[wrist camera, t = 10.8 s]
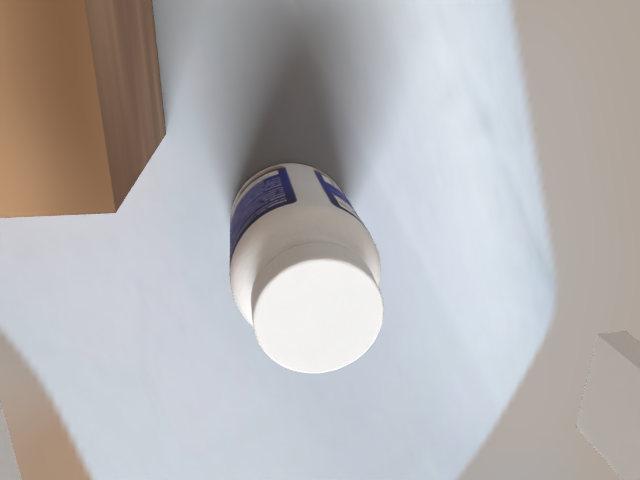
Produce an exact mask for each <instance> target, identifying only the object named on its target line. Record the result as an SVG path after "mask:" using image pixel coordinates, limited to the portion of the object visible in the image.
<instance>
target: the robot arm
mask: <svg viewBox="0 0 640 480" xmlns="http://www.w3.org/2000/svg"><path fill="white" fill-rule="evenodd" d="M576 427H577V428H578V429H579V431H580V432H581V433H582V434H583V435H584V437H585V438H586V439H587V440H588V441H589V442H590V443H591V445H592V446H593V447H594V448H595V449H596V450H597V451H598V453H599V454H600V455H601V456H602V457H603V458H604V459H605V461H606V462H607V463H608V464H609V465H610V466H611V467H612V469H613V470H614V471H615V472H616V473H617V474H618V476H619V477H620V478H621V479H622V480H640V341H638V340H637V339H636V338H634V337H633V336H632V335H630V334H629V333H628V332H627V331H621V332H612V333H601V334H597V336H596V341H595V345H594V349H593V354H592V358H591V362H590V367H589V371H588V375H587V380H586V384H585V389H584V393H583V397H582V402H581V406H580V410H579V415H578V419H577V423H576ZM0 480H22V479H21V475H20V471H19V468H18V464H17V460H16V457H15V454H14V449H13V446H12V442H11V438H10V435H9V432H8V428H7V424H6V420H5V416H4V413H3V409H2V406H1V402H0Z"/></svg>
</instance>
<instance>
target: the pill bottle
mask: <svg viewBox="0 0 640 480" xmlns="http://www.w3.org/2000/svg"><path fill="white" fill-rule="evenodd" d="M380 278H381V264H380V257H379V253H378V250H377V247H376V245H375V243H374V241H373V239H372V237H371V235H370V233H369V231H368V230H367V228H366V227H365V225H364V224H363V222H362V221H361V219H360V218H359V216H358V215H357V213H356V212H355V210H354V209H353V207H352V206H351V204H350V203H349V201H348V200H347V198H346V196H345V195H344V193H343V192H342V190H341V189H340V188H339V186H338V185H337V184H336V183H335V182H334V181H333V180H332V179H331V178H330V177H329V176H328V175H326V174H325V173H323V172H321V171H320V170H318V169H315V168H313V167H310V166H307V165H303V164H297V163H285V164H278V165H274V166H271V167H268V168H266V169H264V170H262V171H260V172H258V173H257V174H255V175H254V176H253V177H251V178H250V179H249V180H248V181H247V182H246V183H245V184H244V185H243V187H242V188H241V189H240V191H239V192H238V194H237V196H236V198H235V200H234V203H233V206H232V210H231V217H230V283H231V289H232V293H233V297H234V300H235V302H236V304H237V306H238V308H239V310H240V311H241V313H242V315H243V316H244V317H245V318H246V320H247V321H248V322H249V323H250V324H251V325H252V326H253V328H254V332H255V335H256V338H257V340H258V343H259V344H260V346H261V347H262V349H263V350H264V351H265V353H266V354H267V355H268V356H269V357H270V358H271V359H272V360H274V361H275V362H277V363H278V364H280V365H282V366H283V367H286V368H288V369H291V370H294V371H298V372H303V373H322V372H329V371H333V370H336V369H339V368H342V367H344V366H346V365H348V364H350V363H351V362H353V361H355V360H356V359H358V358H359V357H360V356H361V355H363V354H364V353H365V352H366V351H367V350H368V349H369V347H370V346H371V345H372V343H373V342H374V341H375V339H376V337H377V335H378V333H379V331H380V328H381V325H382V321H383V314H384V305H383V299H382V295H381V292H380V289H379V284H380Z"/></svg>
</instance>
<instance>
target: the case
mask: <svg viewBox="0 0 640 480" xmlns="http://www.w3.org/2000/svg"><path fill="white" fill-rule="evenodd" d="M165 135H166V130H165V121H164V111H163V102H162V92H161V82H160V73H159V63H158V54H157V44H156V35H155V25H154V15H153V6H152V0H0V218H10V217H33V216H56V215H79V214H102V213H116V212H117V210H118V208H119V207H120V205H121V204H122V202H123V201H124V199H125V197H126V196H127V194H128V193H129V191H130V190H131V188H132V186H133V185H134V183H135V182H136V180H137V179H138V177H139V175H140V174H141V172H142V171H143V169H144V168H145V166H146V164H147V163H148V161H149V160H150V158H151V157H152V155H153V154H154V152H155V150H156V149H157V147H158V146H159V144H160V143H161V141H162V139H163V138H164V136H165Z"/></svg>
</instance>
